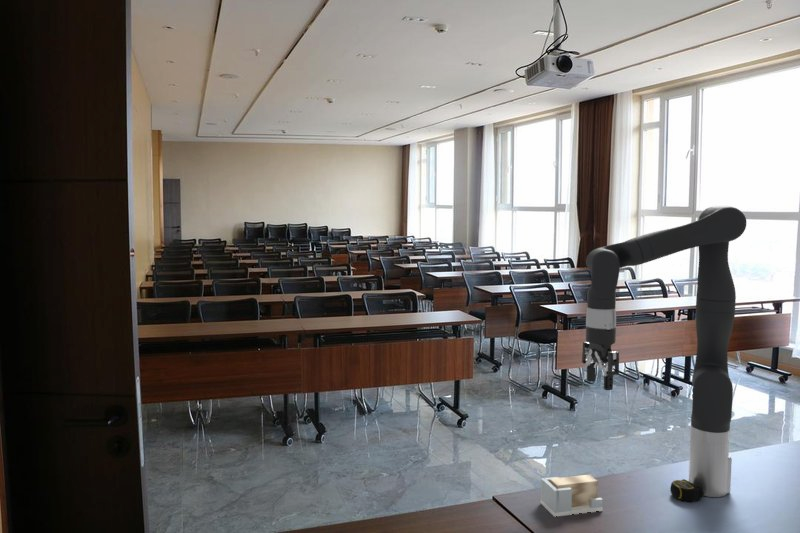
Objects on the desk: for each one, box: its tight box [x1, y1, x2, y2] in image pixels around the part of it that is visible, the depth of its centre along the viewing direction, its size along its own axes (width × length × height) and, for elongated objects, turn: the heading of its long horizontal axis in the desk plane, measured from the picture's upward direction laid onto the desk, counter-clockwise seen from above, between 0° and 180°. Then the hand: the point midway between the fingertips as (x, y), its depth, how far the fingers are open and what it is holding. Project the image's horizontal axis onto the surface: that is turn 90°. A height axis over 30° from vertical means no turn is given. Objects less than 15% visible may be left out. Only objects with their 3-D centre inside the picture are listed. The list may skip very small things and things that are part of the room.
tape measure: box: [670, 479, 705, 502], centre depth 165 cm, size 7×7×4 cm
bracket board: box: [540, 476, 604, 518], centre depth 159 cm, size 13×8×6 cm, turn 103°
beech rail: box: [550, 474, 599, 507], centre depth 160 cm, size 11×4×6 cm, turn 104°
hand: (599, 385), depth 168 cm, fingers open, 8 cm apart
